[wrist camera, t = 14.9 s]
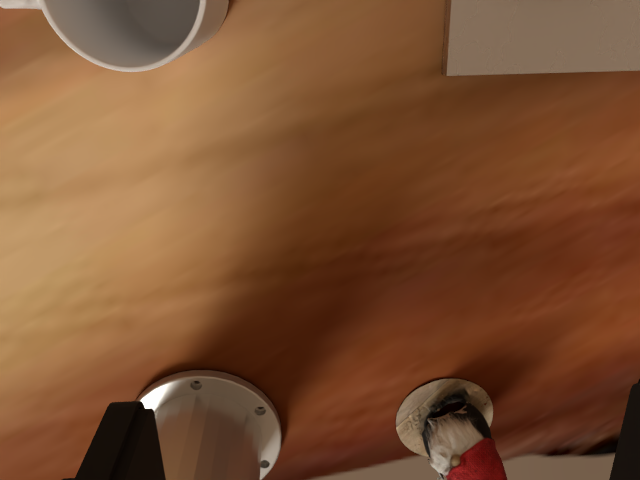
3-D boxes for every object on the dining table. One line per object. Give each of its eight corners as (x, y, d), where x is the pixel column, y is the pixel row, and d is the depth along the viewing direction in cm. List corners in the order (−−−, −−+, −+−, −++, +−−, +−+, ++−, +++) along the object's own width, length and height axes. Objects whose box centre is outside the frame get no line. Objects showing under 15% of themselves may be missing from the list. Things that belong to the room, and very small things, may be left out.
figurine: (368, 412, 41) (532, 487, 35) (426, 349, 49) (570, 402, 42) (365, 494, 44) (514, 576, 38) (420, 423, 52) (553, 483, 45)
